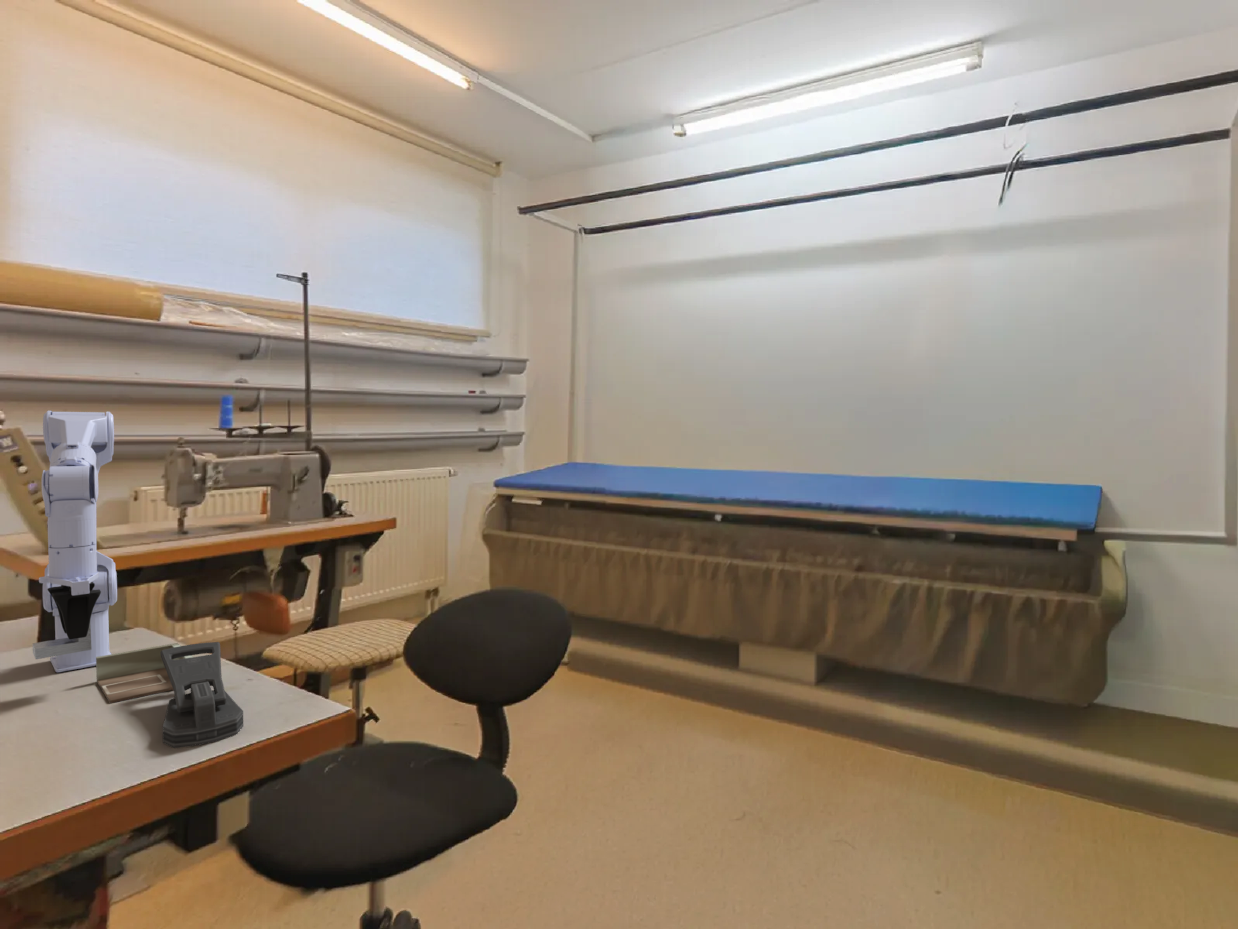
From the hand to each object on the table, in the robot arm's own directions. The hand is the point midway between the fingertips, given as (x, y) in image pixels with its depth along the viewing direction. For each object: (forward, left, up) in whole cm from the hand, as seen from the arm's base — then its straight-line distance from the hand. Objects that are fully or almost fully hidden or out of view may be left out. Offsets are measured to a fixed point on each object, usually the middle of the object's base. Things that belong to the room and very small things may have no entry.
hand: (75, 634), depth 106 cm
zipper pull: (+23, +11, -9) cm, 27 cm away
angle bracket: (0, -2, -2) cm, 3 cm away
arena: (+4, +8, -8) cm, 12 cm away
